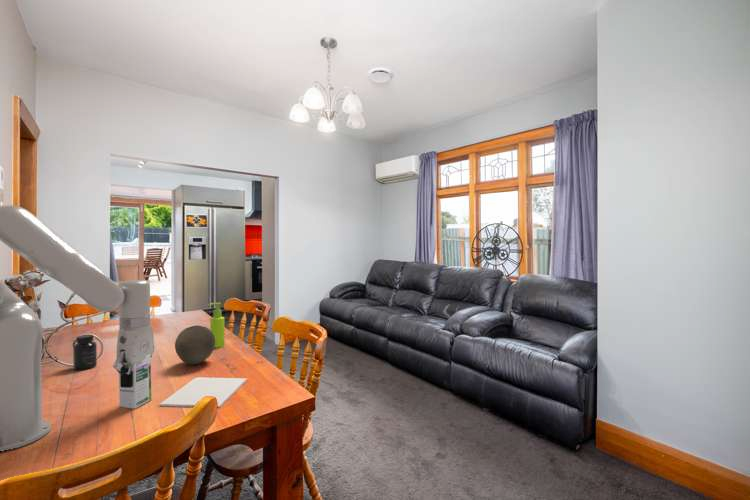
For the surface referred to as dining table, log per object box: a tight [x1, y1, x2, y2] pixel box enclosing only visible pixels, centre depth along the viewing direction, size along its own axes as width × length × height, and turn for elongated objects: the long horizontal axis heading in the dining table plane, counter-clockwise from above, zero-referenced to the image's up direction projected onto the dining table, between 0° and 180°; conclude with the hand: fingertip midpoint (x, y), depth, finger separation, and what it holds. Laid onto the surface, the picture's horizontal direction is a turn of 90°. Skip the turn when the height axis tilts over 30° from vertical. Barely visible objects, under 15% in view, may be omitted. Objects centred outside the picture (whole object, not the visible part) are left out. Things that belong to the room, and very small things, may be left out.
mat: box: [159, 376, 248, 409], centre depth 112 cm, size 20×18×1 cm
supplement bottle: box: [72, 334, 98, 371], centre depth 131 cm, size 7×7×12 cm
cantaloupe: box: [174, 325, 215, 365], centre depth 136 cm, size 14×14×15 cm
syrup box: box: [118, 354, 152, 410], centre depth 103 cm, size 6×6×14 cm
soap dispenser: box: [207, 302, 226, 349], centre depth 159 cm, size 6×7×20 cm
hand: (135, 381), depth 103 cm, fingers closed on syrup box, 6 cm apart
